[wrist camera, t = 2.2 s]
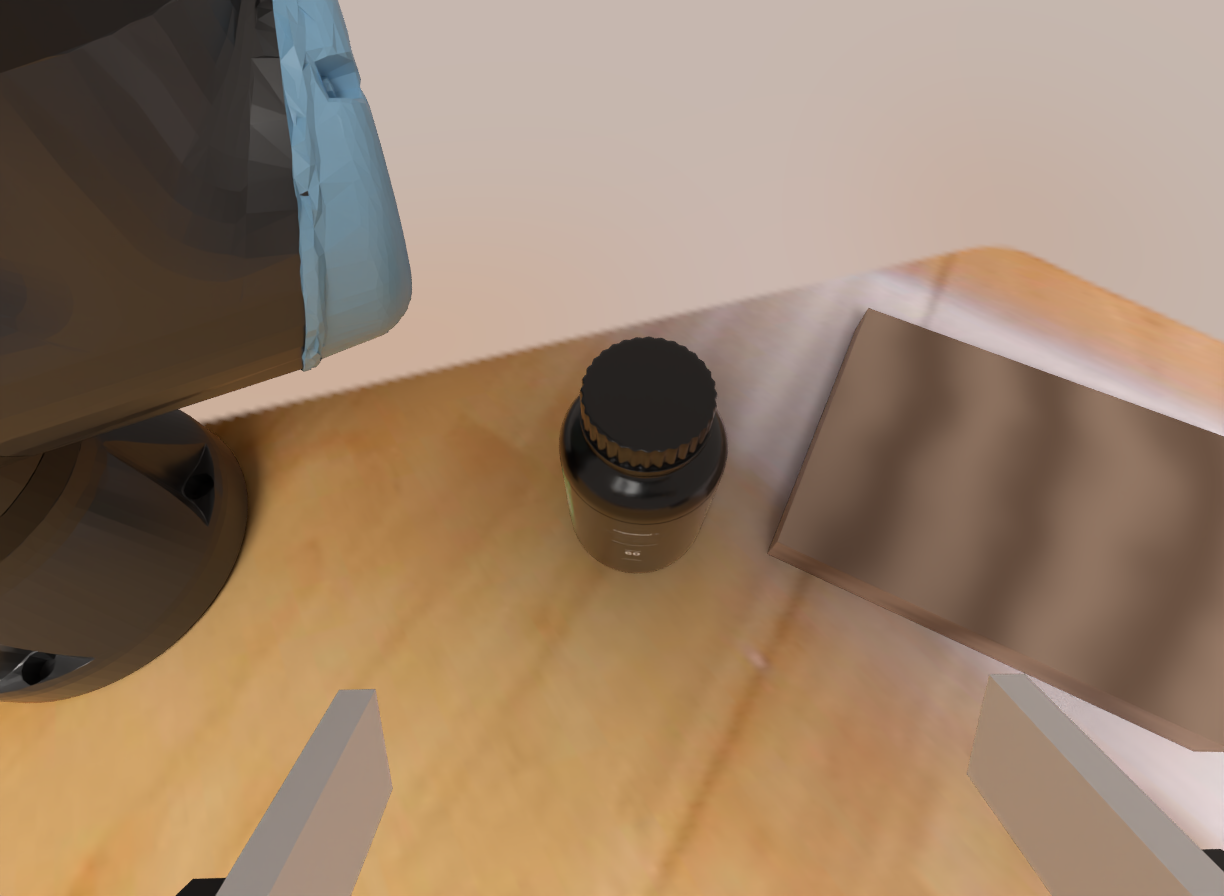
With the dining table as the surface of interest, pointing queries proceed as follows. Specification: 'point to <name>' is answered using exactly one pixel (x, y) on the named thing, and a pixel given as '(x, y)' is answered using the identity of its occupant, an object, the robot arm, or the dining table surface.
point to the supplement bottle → (642, 454)
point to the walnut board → (1023, 523)
